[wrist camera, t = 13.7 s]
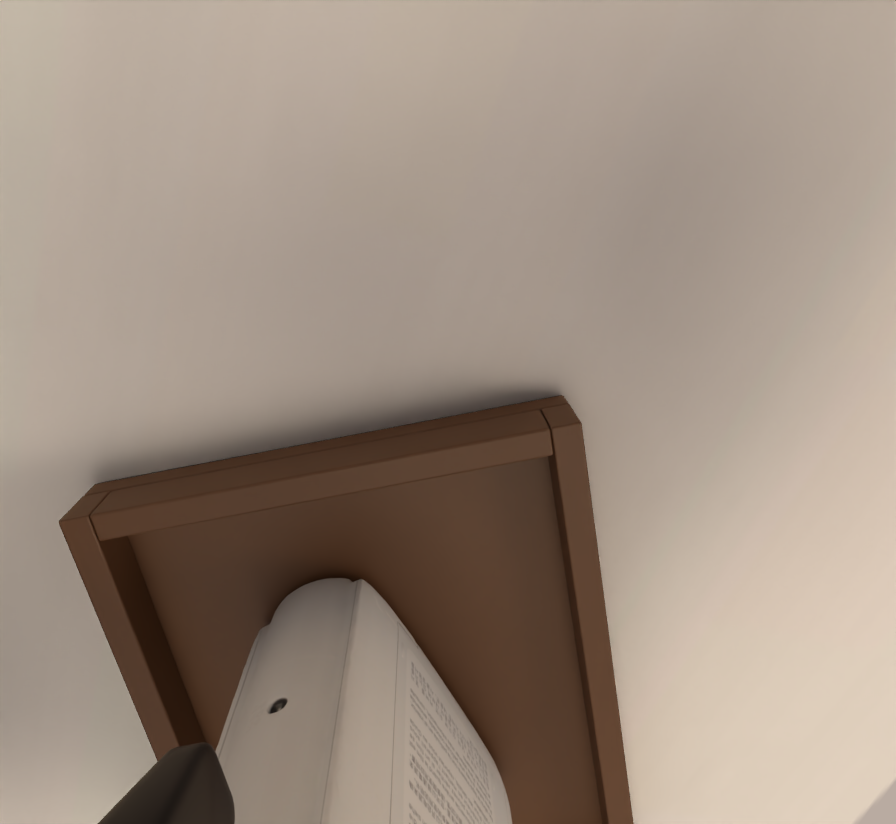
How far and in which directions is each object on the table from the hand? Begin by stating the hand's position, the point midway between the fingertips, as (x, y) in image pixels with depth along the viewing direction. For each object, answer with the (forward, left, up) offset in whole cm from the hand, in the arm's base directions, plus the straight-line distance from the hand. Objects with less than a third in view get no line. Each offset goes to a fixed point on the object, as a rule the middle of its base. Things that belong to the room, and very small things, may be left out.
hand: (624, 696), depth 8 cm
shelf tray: (-5, -10, -13) cm, 17 cm away
